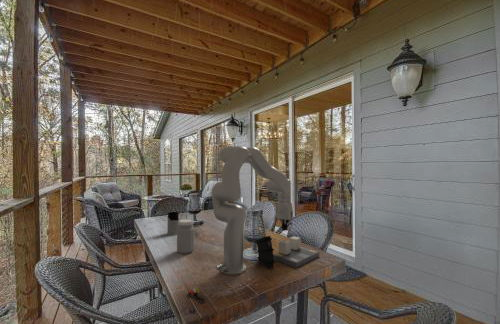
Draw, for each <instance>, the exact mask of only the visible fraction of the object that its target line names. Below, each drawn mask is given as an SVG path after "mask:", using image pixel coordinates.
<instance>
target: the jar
mask: <svg viewBox="0 0 500 324" xmlns="http://www.w3.org/2000/svg"><path fill="white" fill-rule="evenodd" d="M178 224H179V226H178V227H179V228H178V229H177V235H176V251H177V252H178V253H179V254H182V255H186V254H187V255H188V254H191V253H193V252H194V250H195V227H194V220H193V219H190V218H187V219H186V218H185V219H184V218H183V219H182V218H181V220H180V219H179V221H178Z"/></svg>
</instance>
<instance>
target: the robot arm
mask: <svg viewBox="0 0 500 324" xmlns="http://www.w3.org/2000/svg"><path fill="white" fill-rule="evenodd" d="M218 153H219V155H218V157H219V159H220V162H222V163H224V164H223V167H222V168H221V181H218V182H216V183H214V185H213V187H212V190H211V199H212V200H211V201H212V210H213V215H214V217H215V219H216V220H218V221H219V222H223V223H226V226H225V229H224V231H223V260H222V261H221V263H220V264H219V265H218V264H217V265H215V270H216V271H220V272H222V273H223V274H226V275H229V276H235V275H241V274H244V273H246V271H247V265H246V264H245V263H244V231H245V229H244V228H245V222H246V217H247V216H246V215H247V213H246V210H245V208H244V207H243V206H242V205H240V204H236V203H237V202H238V201H239V200H240V199H241V196H242V195H241V194H242V191H241V179H240V172H241V168H242V166H243V164H249V165H250V167H252V169H253V171H255V172H256V174H257V175H258V176H260V177H261V178H264V179H267V180H268V181H267V182H266V183H265V185H266V186H265V187H266V190H267V191H269V192H271V193H277V197H276V199H277V201H276V206H275V217H276V218H277V219H278V220H279V221H280V223H281V231H287V230H288V224H289V223H291V222H293V218H294V210H293V209H294V208H293V207H294V206H293V202H292V200H291V199H292V197H291V196H292V190H291V188H292V187H291V184H292V183H291V179H289V178H287V177H286V175H285V174H284V173H283V172H282V171H280V170H279V169H277V168H276V167H274V166H272V165H271V164H270V163H269V162H268V160H267V159H266V157H265V156H264V154H263V153H262V152H261V150H260V149H259V148H257V147H255V146H254V147H253V146H252V147H251V146H250V147H245V146H242V145H240V146H239V145H238V146H227V147H223V148H221V150H220V151H219V152H218ZM229 202H230V203H229ZM235 202H236V203H235Z"/></svg>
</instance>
